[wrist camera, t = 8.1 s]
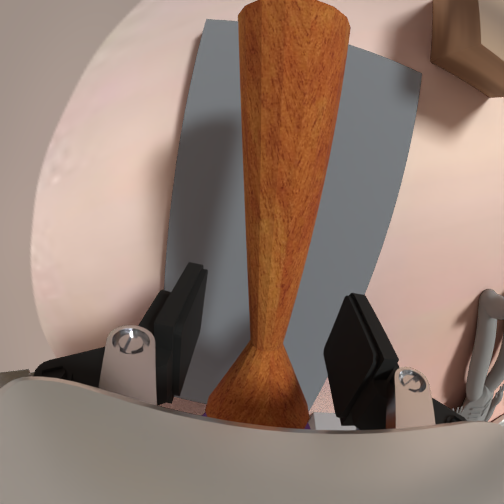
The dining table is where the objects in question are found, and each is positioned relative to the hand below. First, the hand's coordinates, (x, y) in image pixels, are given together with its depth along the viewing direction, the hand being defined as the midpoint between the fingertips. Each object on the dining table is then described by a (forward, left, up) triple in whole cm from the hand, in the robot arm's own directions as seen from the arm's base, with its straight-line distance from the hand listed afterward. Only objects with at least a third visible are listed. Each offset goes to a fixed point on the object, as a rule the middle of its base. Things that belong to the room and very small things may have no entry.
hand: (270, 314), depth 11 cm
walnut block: (+16, -9, -5) cm, 19 cm away
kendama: (0, 0, -1) cm, 1 cm away
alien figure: (-10, -23, -6) cm, 26 cm away
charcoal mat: (0, 0, -5) cm, 5 cm away
